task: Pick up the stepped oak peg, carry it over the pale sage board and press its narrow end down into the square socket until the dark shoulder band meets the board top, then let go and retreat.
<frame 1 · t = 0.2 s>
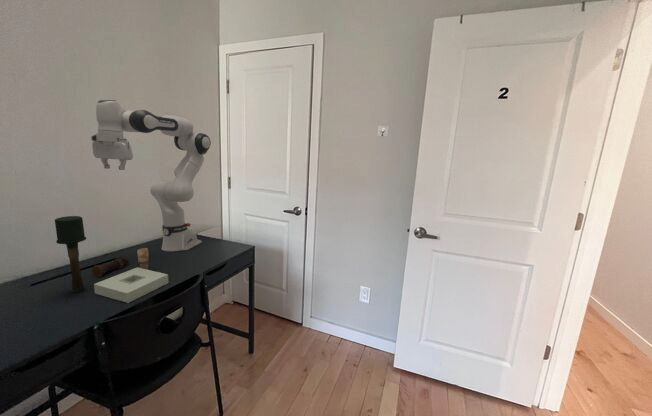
hand: (114, 169, 127), 47 cm above the table, fingers open, 8 cm apart
peg: (144, 271, 131), on the table
board: (133, 287, 116), on the table
grenade: (78, 291, 112), on the table
bolt: (113, 271, 131), on the table
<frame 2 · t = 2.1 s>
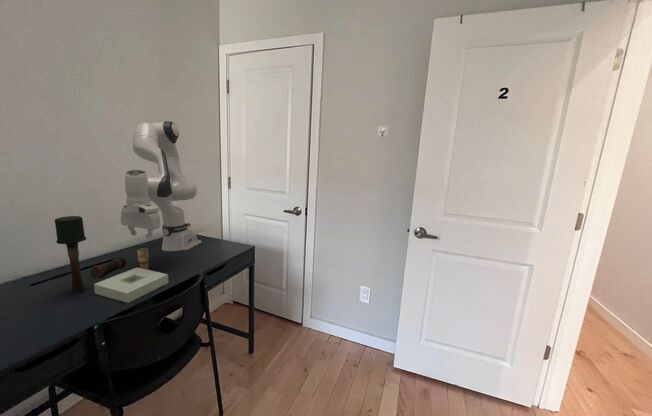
hand: (141, 236, 128), 17 cm above the table, fingers open, 8 cm apart
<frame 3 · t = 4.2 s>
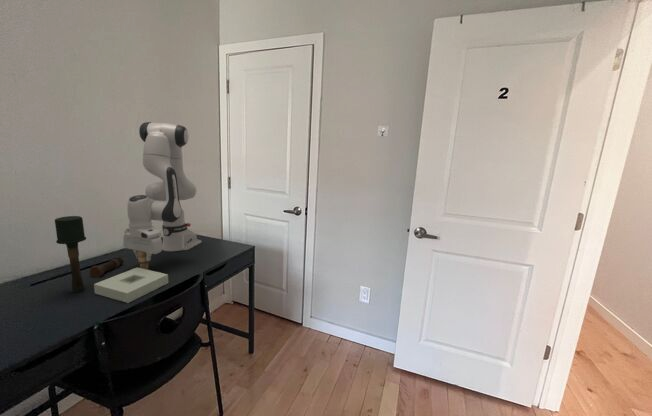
hand: (143, 259, 130), 6 cm above the table, fingers closed on peg, 4 cm apart
peg: (144, 271, 131), on the table, touching gripper
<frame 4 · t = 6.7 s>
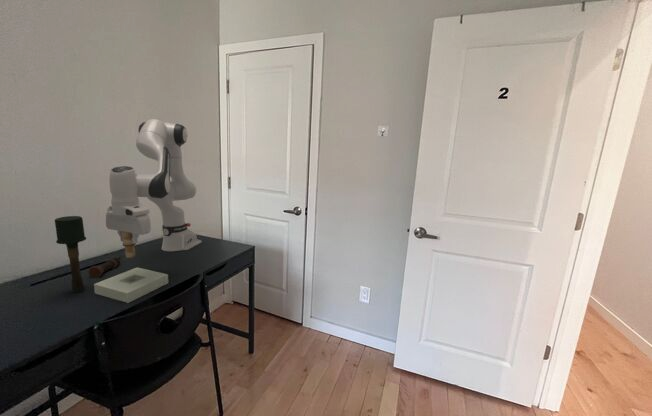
hand: (129, 242, 112), 20 cm above the table, fingers closed on peg, 4 cm apart
peg: (130, 256, 113), point 14 cm above the table, touching gripper
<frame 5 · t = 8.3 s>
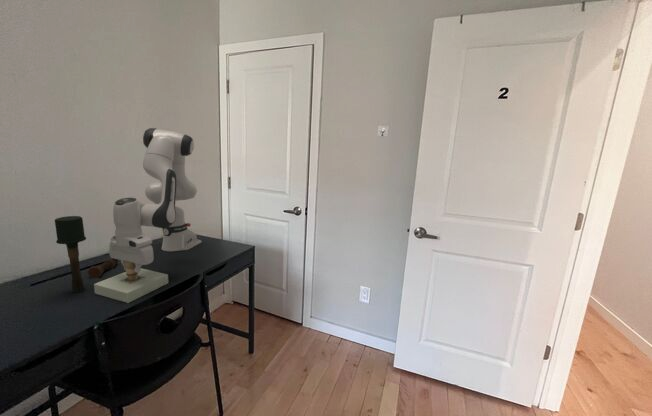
hand: (132, 270, 115), 8 cm above the table, fingers closed on peg, 4 cm apart
peg: (133, 284, 116), point 2 cm above the table, touching gripper
when the fingers open (6 cm above the table, at t = 9.5 s): peg stays where it is, resting in board.
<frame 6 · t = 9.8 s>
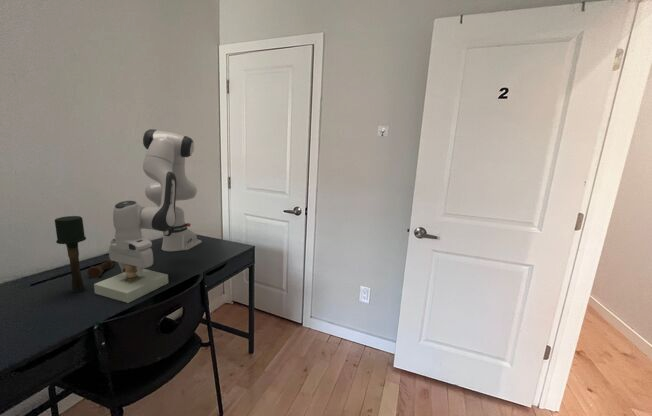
hand: (132, 273, 115), 6 cm above the table, fingers open, 7 cm apart
peg: (133, 287, 116), resting in board
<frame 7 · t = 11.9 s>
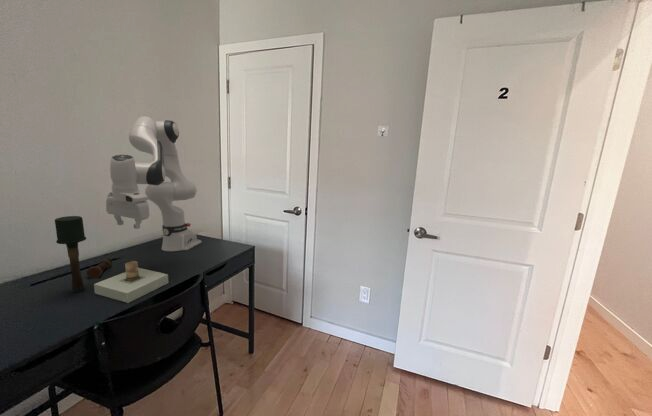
hand: (128, 226, 119), 24 cm above the table, fingers open, 8 cm apart
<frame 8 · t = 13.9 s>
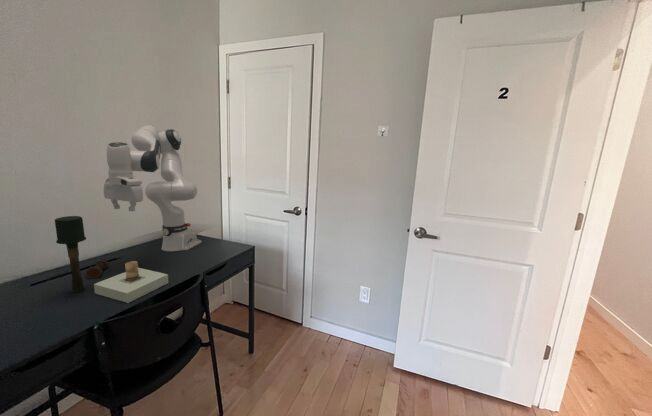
hand: (124, 209, 127), 29 cm above the table, fingers open, 8 cm apart
at the end: peg 0.1 cm off-centre on the board, point 0.0 cm above the board's base; peg tilted 0°; the gripper is holding nothing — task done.
